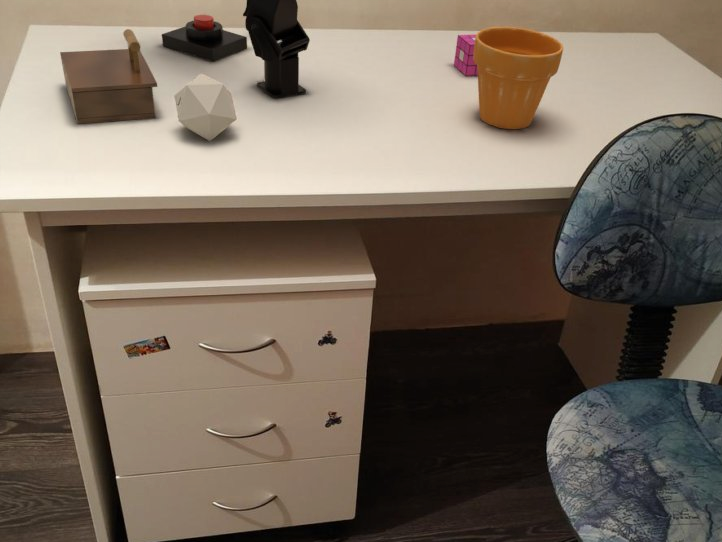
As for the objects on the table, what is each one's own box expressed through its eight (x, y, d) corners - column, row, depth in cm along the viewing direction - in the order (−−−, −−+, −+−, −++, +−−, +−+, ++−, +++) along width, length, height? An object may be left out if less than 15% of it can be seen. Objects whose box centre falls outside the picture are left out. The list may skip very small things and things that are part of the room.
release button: (218, 27, 150) (217, 17, 149) (205, 32, 147) (204, 21, 146) (202, 23, 151) (202, 13, 150) (190, 27, 149) (189, 17, 147)
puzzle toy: (492, 74, 153) (497, 44, 150) (465, 76, 152) (470, 45, 148) (479, 64, 157) (484, 34, 154) (453, 65, 155) (457, 34, 152)
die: (195, 120, 128) (157, 78, 119) (243, 95, 126) (208, 50, 117) (202, 160, 124) (163, 119, 115) (252, 135, 122) (217, 92, 113)
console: (247, 48, 153) (246, 26, 150) (213, 62, 146) (211, 39, 143) (198, 34, 157) (196, 12, 154) (162, 46, 150) (160, 23, 147)
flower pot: (489, 96, 145) (502, 20, 136) (560, 119, 139) (578, 42, 131) (448, 118, 135) (459, 38, 127) (522, 144, 130) (538, 62, 121)
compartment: (138, 81, 136) (134, 52, 133) (155, 118, 126) (152, 87, 123) (66, 86, 132) (60, 56, 129) (77, 124, 122) (72, 92, 119)
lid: (139, 52, 133) (135, 19, 130) (157, 86, 123) (153, 51, 119) (60, 55, 129) (54, 21, 126) (72, 92, 119) (65, 56, 115)
